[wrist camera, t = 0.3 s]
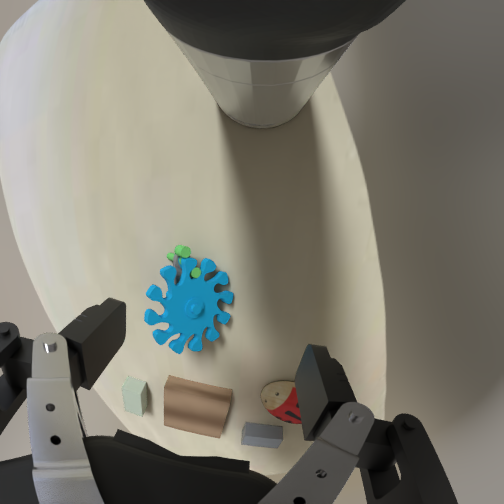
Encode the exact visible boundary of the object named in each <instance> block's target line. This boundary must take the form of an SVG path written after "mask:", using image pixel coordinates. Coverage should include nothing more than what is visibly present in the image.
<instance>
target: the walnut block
mask: <svg viewBox="0 0 504 504" xmlns="http://www.w3.org/2000/svg"><path fill="white" fill-rule="evenodd" d="M231 394H232V389H226V388H221V387H216V386H212V385H207V384H203V383H198V382H194V381H190V380H186V379H182V378H178V377H174V376H171V375H169V377H168V379H167V382H166V384H165V387H164V425H165V426H168V427H172V428H175V429H179V430H183V431H187V432H192V433H196V434H200V435H205V436H210V437H215V438H220V436H221V433H222V430H223V426H224V423H225V420H226V416H227V413H228V409H229V406H230V402H231Z"/></svg>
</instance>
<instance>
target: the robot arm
mask: <svg viewBox="0 0 504 504" xmlns="http://www.w3.org/2000/svg"><path fill="white" fill-rule="evenodd" d="M405 1H406V0H144V2H145V3H146V5H147V6H148V7H149V9H150V10H151V11H152V13H153V14H154V15H155V17H156V18H157V19H158V21H159V22H160V23H161V24H162V26H163V27H164V28H165V29H166V31H167V32H168V33H169V35H170V36H171V37H172V39H173V40H174V41H175V43H176V44H177V46H178V47H179V48H180V50H181V51H182V52H183V54H184V55H185V56H186V58H187V59H188V60H189V62H190V63H191V65H192V66H193V68H194V69H195V71H196V72H197V73H198V75H199V76H200V78H201V79H202V81H203V82H204V84H205V85H206V87H207V88H208V90H209V91H210V93H211V94H212V96H213V97H214V99H215V100H216V102H217V103H218V105H219V106H220V108H221V109H222V110H223V111H224V113H225V114H226V115H227V116H229V117H230V118H231V119H232V120H234V121H236V122H238V123H240V124H242V125H245V126H248V127H253V128H271V127H275V126H279V125H281V124H283V123H285V122H287V121H289V120H291V119H292V118H293V117H294V116H296V115H297V114H298V112H299V111H300V110H301V109H302V107H303V106H304V105H305V104H306V102H307V101H308V100H309V98H310V97H311V96H312V94H313V93H314V92H315V90H316V89H317V88H318V86H319V85H320V84H321V82H322V81H323V80H324V79H325V77H326V76H327V75H328V73H329V72H330V71H331V69H332V68H333V67H334V66H335V64H336V63H337V62H338V61H339V59H340V58H341V56H342V55H343V54H344V52H345V51H346V50H347V49H348V47H349V46H350V44H352V42H353V41H354V40H355V39H356V38H357V36H358V35H359V34H360V33H361V32H363V31H366V30H368V29H370V28H372V27H373V26H376V25H377V24H379V23H380V22H382V21H383V20H384V19H385V18H387V17H388V16H389V15H390V14H391V13H393V12H394V11H395V10H396V9H397V8H398V7H399V6H400V5H401V4H402V3H403V2H405ZM125 335H126V304H125V302H122V301H119V300H116V299H113V298H108V299H107V300H105V301H104V302H103V303H102V304H101V305H100V306H99V305H95V306H92V307H89V308H87V309H86V310H85V311H84V312H82V313H81V315H79V316H78V317H77V318H76V319H74V320H73V321H72V322H71V323H70V324H68V325H67V326H66V327H65V328H64V329H63V330H62V331H61V332H59V333H58V334H56V333H44V334H41V335H39V336H38V337H36V339H35V340H32V339H27V338H23V337H20V334H19V330H18V328H17V326H16V325H15V324H13V323H10V322H2V323H0V368H2V371H3V375H2V376H1V377H0V435H1V433H2V432H3V430H4V429H5V427H6V426H7V424H8V423H9V421H10V420H11V419H12V417H13V416H14V414H15V413H16V412H17V410H18V409H19V407H20V406H21V405H22V403H23V402H24V401H25V399H26V398H27V410H28V425H29V435H30V443H31V450H32V454H30V455H26V456H22V457H19V458H14V459H10V460H5V461H1V462H0V504H333V502H334V501H335V499H336V498H337V496H338V495H339V493H340V492H341V490H342V488H343V487H344V485H345V484H346V482H347V480H348V478H349V477H350V475H351V473H352V472H353V470H354V468H355V467H358V468H360V472H361V477H362V481H363V486H364V490H365V495H366V500H367V504H458V503H457V500H456V497H455V495H454V492H453V490H452V487H451V485H450V483H449V480H448V478H447V476H446V473H445V471H444V469H443V466H442V464H441V462H440V460H439V458H438V456H437V454H436V452H435V449H434V447H433V445H432V443H431V441H430V439H429V437H428V435H427V433H426V431H425V429H424V427H423V425H422V423H421V422H420V420H418V419H417V418H416V417H414V416H413V415H409V414H399V415H397V416H396V417H395V418H394V420H393V421H392V422H388V421H384V420H379V419H375V418H374V415H373V413H372V411H371V410H370V409H369V408H368V407H366V406H365V405H363V404H360V403H357V400H356V398H355V395H354V393H353V391H352V388H351V386H350V383H349V382H348V379H347V376H346V375H345V372H344V369H343V367H342V365H341V364H340V363H339V362H338V361H337V360H336V359H334V358H330V355H329V353H328V350H327V348H326V347H325V346H319V345H312V344H309V345H308V346H307V347H306V350H305V352H304V355H303V357H302V360H301V362H300V365H299V367H298V370H297V372H296V377H295V387H296V393H297V398H298V404H299V410H300V416H301V422H302V428H303V434H304V440H306V441H314V443H313V444H312V445H311V446H310V447H309V449H308V450H307V451H306V452H305V454H304V455H303V456H302V457H301V458H300V459H299V461H298V462H297V463H296V464H295V465H294V466H293V468H292V469H291V470H290V471H289V472H288V473H287V474H286V475H285V476H284V477H283V478H282V480H281V481H280V482H279V483H278V484H277V483H275V482H274V481H272V480H271V479H269V478H267V477H266V476H264V475H262V474H260V473H257V472H255V471H252V470H249V463H250V461H244V460H236V459H229V458H223V457H217V456H209V457H200V456H180V455H177V454H175V453H173V452H171V451H169V450H167V449H165V448H163V447H161V446H159V445H157V444H155V443H153V442H152V441H150V440H148V439H144V438H141V437H138V436H136V435H133V434H130V433H127V432H124V431H122V430H119V429H118V430H117V432H116V434H115V436H114V437H112V436H89V437H88V434H87V431H86V428H85V424H84V420H83V416H82V412H81V408H80V404H79V398H78V394H77V390H78V388H79V387H80V386H81V387H83V388H85V389H88V390H90V389H91V387H92V386H93V385H94V383H95V382H96V380H97V379H98V378H99V376H100V375H101V373H102V372H103V371H104V369H105V368H106V366H107V365H108V364H109V362H110V361H111V360H112V358H113V357H114V355H115V354H116V353H117V351H118V350H119V349H120V347H121V346H122V344H123V342H124V340H125ZM396 462H397V464H398V467H399V470H400V473H401V480H399V476H398V473H397V470H396V467H395V463H396Z"/></svg>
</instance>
